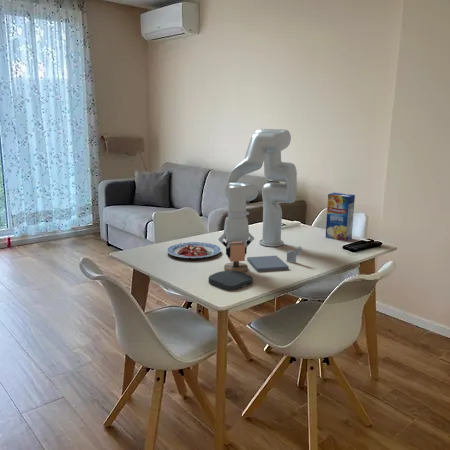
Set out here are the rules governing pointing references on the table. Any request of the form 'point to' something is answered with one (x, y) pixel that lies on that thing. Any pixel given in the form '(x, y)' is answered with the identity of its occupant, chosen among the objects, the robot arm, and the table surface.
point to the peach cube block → (237, 251)
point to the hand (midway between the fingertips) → (236, 255)
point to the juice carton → (340, 216)
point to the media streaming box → (230, 280)
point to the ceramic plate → (193, 250)
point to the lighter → (293, 255)
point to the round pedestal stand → (236, 267)
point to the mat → (267, 263)
